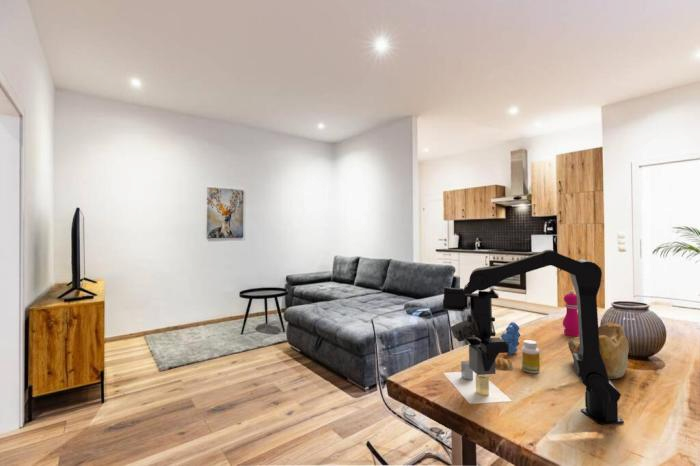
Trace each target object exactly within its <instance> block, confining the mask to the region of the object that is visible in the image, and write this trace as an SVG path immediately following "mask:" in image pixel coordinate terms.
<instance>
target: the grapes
mask: <svg viewBox="0 0 700 466" xmlns="http://www.w3.org/2000/svg"><path fill="white" fill-rule="evenodd" d="M520 329H521V328H520V326H519V325H518V324H517V322H515V321H511V322H510V323H509V324H508V326H507V327H506V328H505V331H506V332H503V333H502V334H501V335H500V339H502V340H504V341H505V342H506V343H507V344H508V345H509V352H508V353H506V354H507V355H509V356H511V355H513V354H515V353H517V352H518V348H517V347H518V346H519V345H520V342H519V340H520V339H519V338H520V337H521V334H520V332H519V330H520Z"/></svg>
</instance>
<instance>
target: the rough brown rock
mask: <svg viewBox="0 0 700 466" xmlns="http://www.w3.org/2000/svg"><path fill="white" fill-rule="evenodd" d="M598 329H599V344H600V354H601V356H602V359H603V362H604V364H605V367H606V371H607V374H608V378H609V380H615V379H620V378H623V377H624V375H625V373H626V371H627V368H628V366H629V359H628V357H629V355H628V354H629V352H630V350H629V349H630V348H629V347H630V346H629V341H628V339H627V336H626V332H625V330H624V328H623V326H622V325H621V324H619V323H615V322H613V321H608V322H607V323H605V324H601V325H600V326H598ZM567 346H568V349H569V351H570V353H571V354H572V353H576V354H578V352H579V349H580V339H579V336H574V337H573V338H571V339H569V341H568V343H567Z"/></svg>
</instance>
